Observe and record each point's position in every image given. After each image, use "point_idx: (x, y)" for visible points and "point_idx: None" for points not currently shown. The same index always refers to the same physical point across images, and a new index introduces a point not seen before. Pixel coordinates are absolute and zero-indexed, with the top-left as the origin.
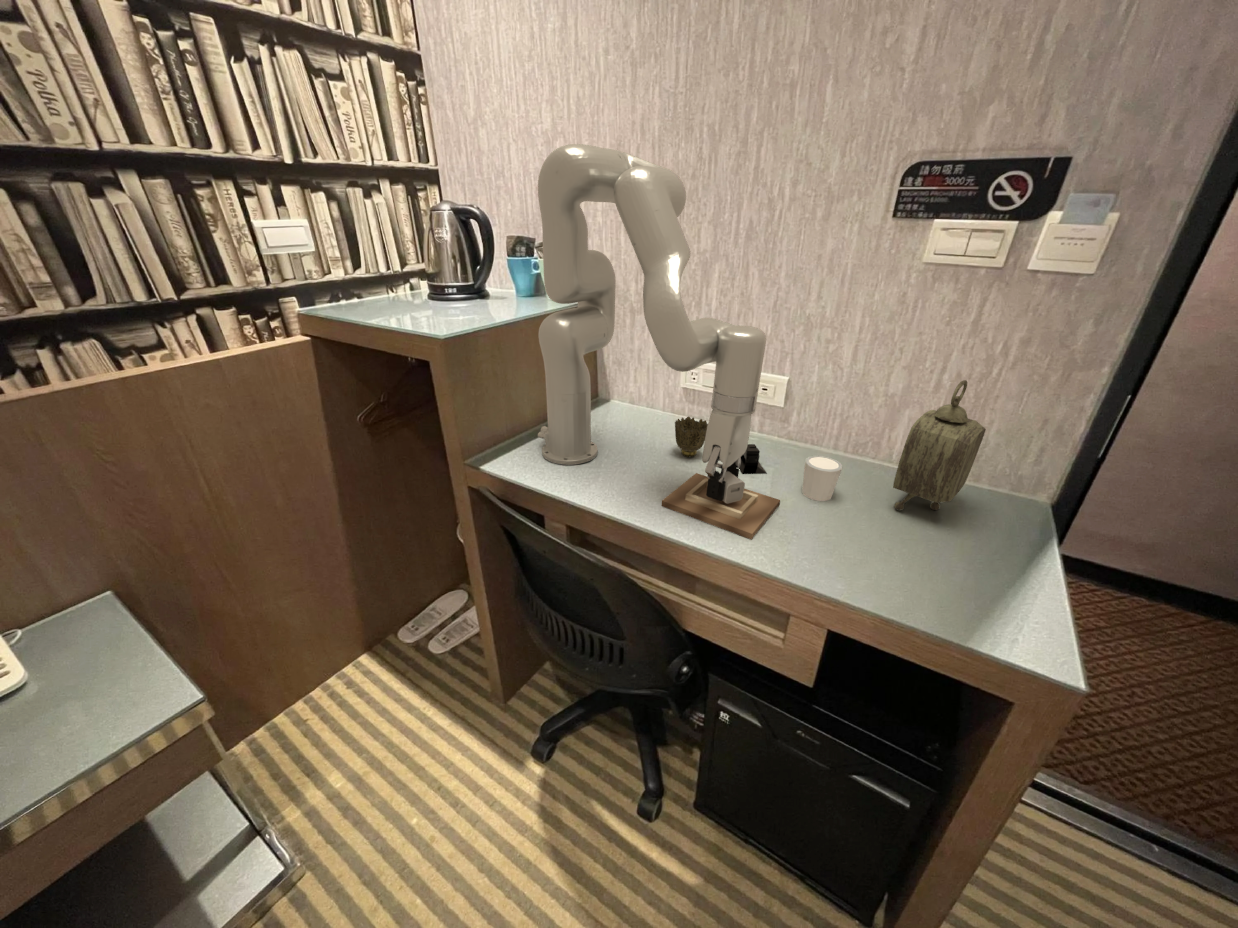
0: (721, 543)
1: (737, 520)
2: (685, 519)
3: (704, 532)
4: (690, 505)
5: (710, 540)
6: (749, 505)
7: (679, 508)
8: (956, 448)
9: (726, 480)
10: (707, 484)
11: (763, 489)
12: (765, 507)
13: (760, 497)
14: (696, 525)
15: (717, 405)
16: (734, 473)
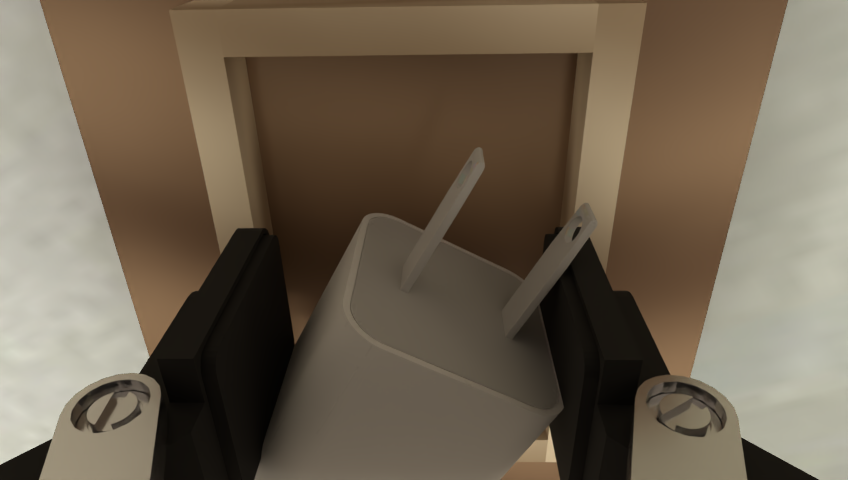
0: (50, 387)
1: None
2: (53, 109)
3: (48, 280)
4: (152, 92)
5: (17, 337)
6: None
7: (54, 23)
8: None
9: (321, 468)
10: (196, 294)
11: (821, 360)
12: (513, 478)
13: None
14: (64, 208)
15: None
16: (561, 450)
